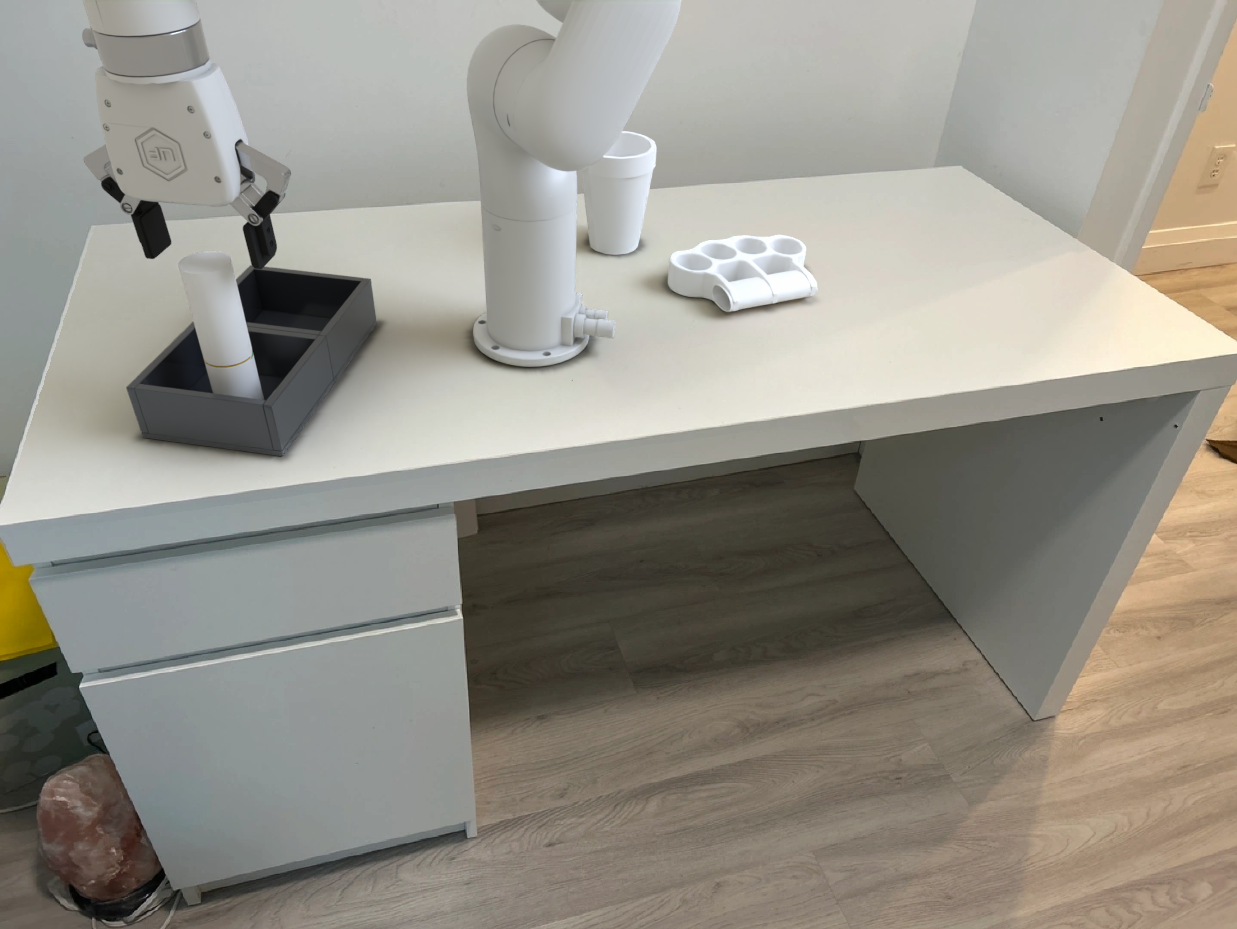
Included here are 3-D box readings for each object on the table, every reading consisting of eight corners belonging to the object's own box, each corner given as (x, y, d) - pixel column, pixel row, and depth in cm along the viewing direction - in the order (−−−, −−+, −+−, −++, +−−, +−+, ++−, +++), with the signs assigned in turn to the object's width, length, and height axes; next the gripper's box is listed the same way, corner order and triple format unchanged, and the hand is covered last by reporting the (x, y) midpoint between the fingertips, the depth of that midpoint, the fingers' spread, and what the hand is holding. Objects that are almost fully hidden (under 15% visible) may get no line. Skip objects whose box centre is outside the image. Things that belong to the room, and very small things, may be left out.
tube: (250, 420, 90) (214, 276, 81) (208, 413, 91) (168, 269, 81) (272, 395, 93) (240, 254, 84) (231, 389, 94) (195, 248, 85)
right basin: (377, 324, 106) (371, 278, 102) (334, 384, 96) (326, 335, 93) (260, 310, 107) (250, 264, 104) (207, 367, 98) (194, 319, 94)
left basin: (334, 384, 96) (326, 335, 93) (282, 456, 87) (271, 406, 84) (207, 367, 98) (194, 319, 94) (142, 437, 88) (125, 387, 85)
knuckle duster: (704, 324, 108) (649, 268, 119) (838, 298, 114) (774, 247, 125) (707, 298, 106) (651, 243, 117) (843, 273, 112) (778, 222, 123)
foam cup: (663, 240, 125) (670, 142, 117) (625, 267, 119) (630, 164, 111) (602, 221, 129) (605, 124, 121) (563, 246, 123) (563, 146, 114)
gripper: (16, 56, 70) (94, 268, 81) (239, 72, 68) (288, 287, 79) (77, 28, 76) (142, 229, 87) (284, 41, 74) (324, 245, 85)
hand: (211, 256), depth 83 cm, fingers open, 9 cm apart
